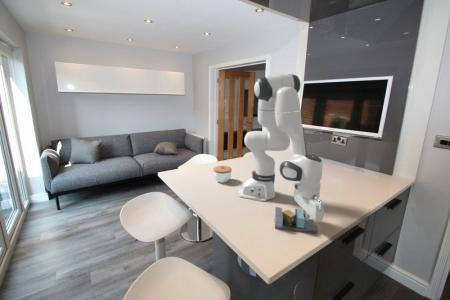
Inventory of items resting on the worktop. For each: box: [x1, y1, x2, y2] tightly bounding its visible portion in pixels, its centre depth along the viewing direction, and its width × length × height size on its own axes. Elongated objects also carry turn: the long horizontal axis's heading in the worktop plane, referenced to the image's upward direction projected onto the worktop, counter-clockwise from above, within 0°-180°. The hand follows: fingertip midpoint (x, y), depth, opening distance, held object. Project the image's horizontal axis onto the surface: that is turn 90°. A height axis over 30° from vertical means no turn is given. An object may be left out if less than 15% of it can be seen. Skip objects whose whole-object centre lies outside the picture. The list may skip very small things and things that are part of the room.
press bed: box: [274, 206, 318, 235], centre depth 101 cm, size 18×9×6 cm, turn 79°
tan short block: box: [282, 209, 297, 226], centre depth 101 cm, size 5×4×4 cm
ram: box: [294, 208, 305, 228], centre depth 101 cm, size 3×8×4 cm, turn 169°
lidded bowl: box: [213, 165, 233, 184], centre depth 152 cm, size 13×13×11 cm
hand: (305, 218), depth 100 cm, fingers closed
